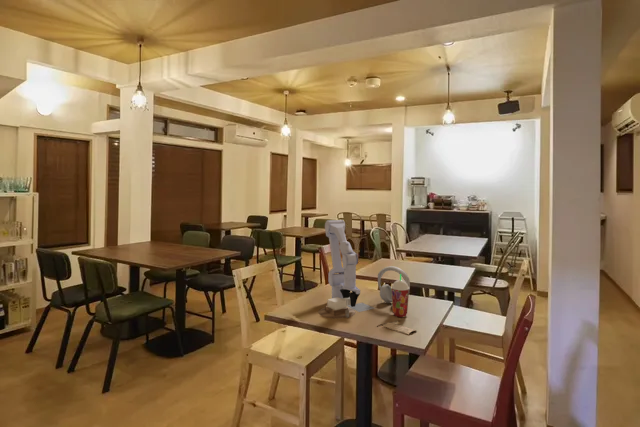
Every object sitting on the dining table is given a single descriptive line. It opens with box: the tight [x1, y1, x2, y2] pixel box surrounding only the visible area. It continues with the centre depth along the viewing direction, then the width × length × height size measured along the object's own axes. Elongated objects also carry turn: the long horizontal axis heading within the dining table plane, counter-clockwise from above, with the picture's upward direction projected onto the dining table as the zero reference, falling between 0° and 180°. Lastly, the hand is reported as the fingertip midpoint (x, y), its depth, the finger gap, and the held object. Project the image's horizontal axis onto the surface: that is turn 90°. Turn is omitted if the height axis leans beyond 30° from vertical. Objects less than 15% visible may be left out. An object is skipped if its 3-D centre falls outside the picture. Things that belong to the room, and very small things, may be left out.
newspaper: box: [379, 321, 417, 336], centre depth 172 cm, size 24×7×2 cm, turn 42°
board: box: [346, 302, 376, 313], centre depth 189 cm, size 30×20×1 cm, turn 121°
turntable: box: [318, 305, 357, 320], centre depth 186 cm, size 18×18×4 cm
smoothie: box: [391, 274, 410, 318], centre depth 184 cm, size 8×8×20 cm
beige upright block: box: [326, 297, 351, 310], centre depth 188 cm, size 12×6×6 cm, turn 126°
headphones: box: [377, 265, 411, 304], centre depth 202 cm, size 18×8×20 cm, turn 50°
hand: (349, 304), depth 190 cm, fingers open, 5 cm apart
